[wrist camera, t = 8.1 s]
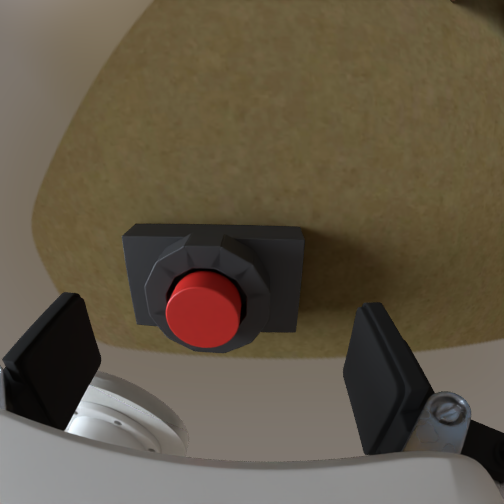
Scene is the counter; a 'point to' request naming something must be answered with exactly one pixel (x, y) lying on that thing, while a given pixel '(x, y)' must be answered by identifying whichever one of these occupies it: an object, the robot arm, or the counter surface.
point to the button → (204, 309)
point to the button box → (222, 262)
